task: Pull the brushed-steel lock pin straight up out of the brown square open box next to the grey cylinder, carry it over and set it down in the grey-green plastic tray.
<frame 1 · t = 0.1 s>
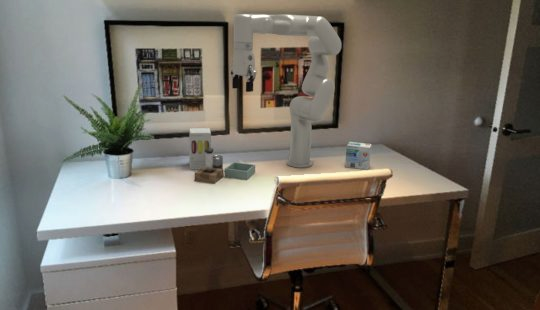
hand: (242, 89, 192), 37 cm above the table, tool pointing down, fingers open, 9 cm apart
lock pin: (209, 164, 197), in the brown square open box
brown square open box: (209, 178, 198), on the table
grey cylinder: (215, 172, 207), on the table
light bulb box: (357, 167, 221), on the table
supplement box: (200, 166, 215), on the table
tray: (240, 174, 205), on the table
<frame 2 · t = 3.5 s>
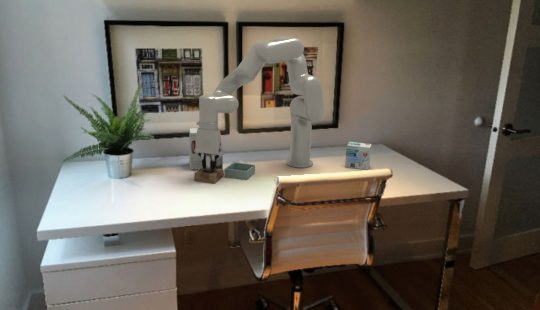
hand: (209, 168, 197), 5 cm above the table, tool pointing down, fingers closed on lock pin, 3 cm apart
lock pin: (209, 164, 197), in the brown square open box, touching gripper
everything else where it was.
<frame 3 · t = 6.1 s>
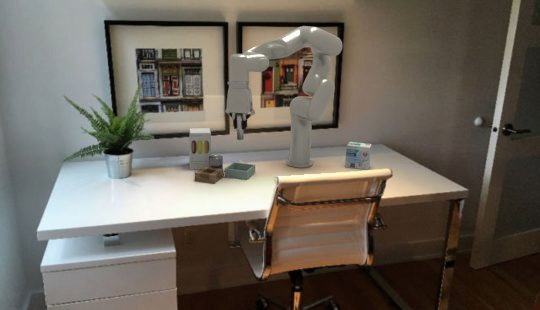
hand: (240, 128, 199), 21 cm above the table, tool pointing down, fingers closed on lock pin, 3 cm apart
lock pin: (240, 124, 198), point 22 cm above the table, touching gripper
everything else where it was.
when the fingers open (7 cm above the table, at t = 9.1 s): lock pin drops 1 cm, resting on tray.
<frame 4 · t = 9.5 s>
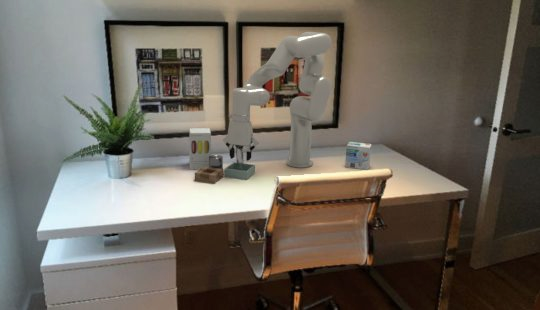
hand: (240, 158, 203), 7 cm above the table, tool pointing down, fingers open, 6 cm apart
lock pin: (239, 158, 203), in the tray, point 7 cm above the table
everything else where it was.
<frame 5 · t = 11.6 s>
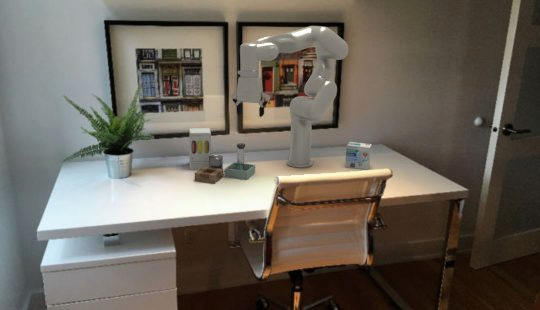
hand: (250, 115, 198), 26 cm above the table, tool pointing down, fingers open, 9 cm apart
nothing on the table moved.
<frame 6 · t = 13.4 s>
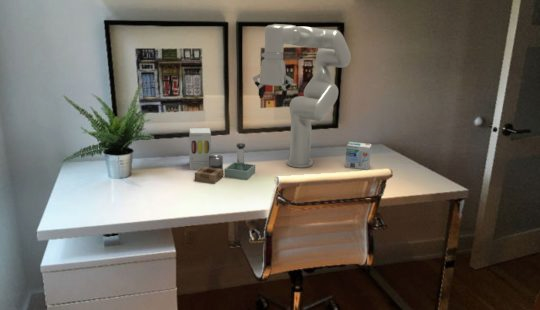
hand: (272, 98, 196), 33 cm above the table, tool pointing down, fingers open, 9 cm apart
nothing on the table moved.
at the end: lock pin inside the target area on the tray (0.1 cm from its centre), point 7.1 cm above the tray's base; the gripper is holding nothing; lock pin touching tray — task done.
